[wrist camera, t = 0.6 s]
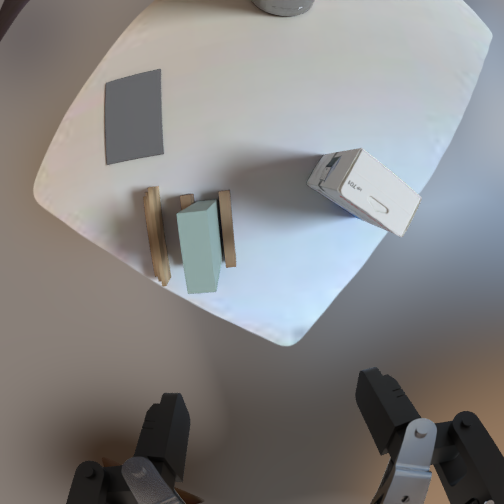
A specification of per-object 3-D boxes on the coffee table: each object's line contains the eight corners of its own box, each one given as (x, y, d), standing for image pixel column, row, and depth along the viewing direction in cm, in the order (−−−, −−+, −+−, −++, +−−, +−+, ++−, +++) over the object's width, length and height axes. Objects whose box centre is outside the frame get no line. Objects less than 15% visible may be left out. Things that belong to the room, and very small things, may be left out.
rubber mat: (106, 83, 28) (106, 83, 27) (160, 69, 28) (160, 68, 27) (108, 164, 31) (106, 164, 30) (163, 153, 31) (163, 153, 31)
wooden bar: (147, 187, 32) (139, 188, 29) (159, 186, 32) (151, 187, 29) (160, 277, 35) (154, 286, 32) (171, 276, 35) (166, 286, 32)
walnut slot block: (184, 194, 32) (179, 196, 30) (229, 189, 33) (229, 190, 30) (192, 264, 35) (189, 270, 32) (236, 260, 35) (236, 266, 33)
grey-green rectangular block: (197, 201, 33) (176, 213, 21) (217, 199, 33) (206, 210, 21) (203, 255, 35) (188, 293, 23) (222, 254, 35) (216, 291, 23)
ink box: (373, 189, 34) (425, 197, 22) (355, 220, 35) (403, 240, 23) (322, 153, 32) (362, 143, 21) (303, 186, 33) (336, 191, 22)
